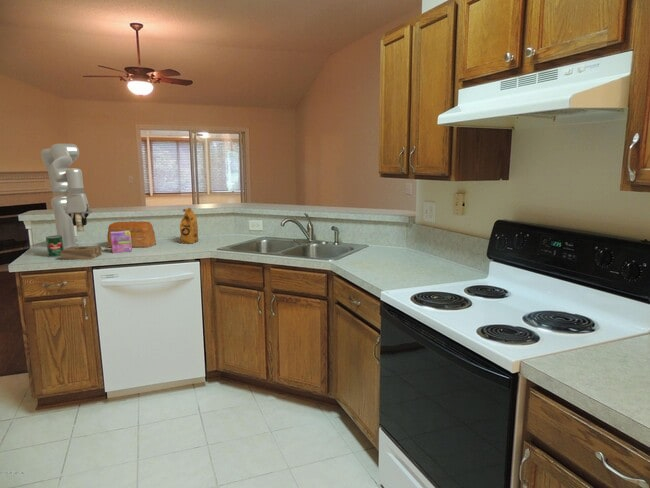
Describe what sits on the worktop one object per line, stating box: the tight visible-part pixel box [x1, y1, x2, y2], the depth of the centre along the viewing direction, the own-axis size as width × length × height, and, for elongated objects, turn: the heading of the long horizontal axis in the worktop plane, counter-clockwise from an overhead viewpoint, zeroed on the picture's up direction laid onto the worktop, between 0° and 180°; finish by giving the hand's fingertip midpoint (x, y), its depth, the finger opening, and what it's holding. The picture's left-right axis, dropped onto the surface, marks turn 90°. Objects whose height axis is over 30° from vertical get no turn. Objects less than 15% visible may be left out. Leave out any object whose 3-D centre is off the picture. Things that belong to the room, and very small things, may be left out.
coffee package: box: [179, 206, 199, 245], centre depth 289 cm, size 10×12×22 cm
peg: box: [75, 213, 85, 232], centre depth 247 cm, size 4×4×10 cm
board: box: [60, 245, 103, 261], centre depth 249 cm, size 12×16×5 cm
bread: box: [106, 220, 157, 248], centre depth 281 cm, size 14×27×15 cm, turn 90°
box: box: [110, 230, 133, 254], centre depth 263 cm, size 10×6×12 cm, turn 117°
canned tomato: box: [45, 234, 64, 258], centre depth 254 cm, size 8×8×11 cm
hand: (80, 225), depth 248 cm, fingers closed on peg, 4 cm apart
